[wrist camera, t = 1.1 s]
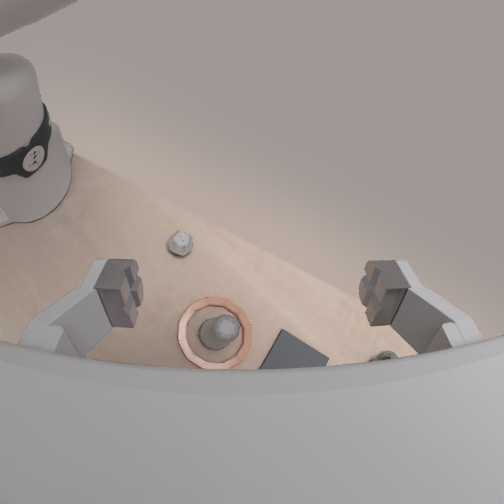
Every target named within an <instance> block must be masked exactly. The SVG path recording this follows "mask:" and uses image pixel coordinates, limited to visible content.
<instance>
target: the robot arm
mask: <svg viewBox="0 0 504 504" xmlns="http://www.w3.org/2000/svg"><path fill="white" fill-rule="evenodd" d="M77 1H78V0H0V37H2V36H4V35H6V34H8V33H11V32H13V31H15V30H18V29H20V28H22V27H25V26H27V25H30V24H32V23H35V22H38V21H39V20H41V19H43V18H45V17H47V16H49V15H51V14H53V13H55V12H57V11H59V10H61V9H63V8H65V7H67V6H69V5H71V4H73V3H76V2H77ZM73 151H74V150H73V147H72V145H71V144H70V143H68V142H65V141H64V140H63V137H62V134H61V131H60V129H59V126H58V125H57V123H53V122H51V121H50V116H49V113H48V111H47V109H46V106H45V104H44V103H43V102H42V99H41V95H40V91H39V86H38V81H37V76H36V71H35V68H34V66H33V65H32V63H31V62H30V61H29V60H27V59H26V58H24V57H22V56H20V55H17V54H11V53H6V54H5V53H4V54H0V227H1V226H5V225H7V224H9V223H12V222H31V221H34V220H37V219H39V218H42V217H43V216H45V215H47V214H48V213H49V212H51V211H52V210H53V209H54V208H55V207H56V206H57V205H58V204H59V203H60V202H61V201H62V199H63V198H64V196H65V194H66V193H67V191H68V188H69V185H70V182H71V165H70V161H71V158H72V155H73ZM138 270H139V268H138V264H137V261H135V260H130V259H96V260H95V261H94V263H93V265H92V266H91V268H90V270H89V272H88V274H87V275H86V277H85V279H84V281H83V283H82V285H81V286H80V288H75V289H74V290H72V291H71V292H69V293H68V294H67V295H65V296H64V297H62V298H61V299H59V300H58V301H57V302H55V303H54V304H52V305H51V306H50V307H48V308H47V309H45V310H44V311H43V312H41V313H40V314H38V315H37V316H36V317H34V318H33V319H32V320H30V322H29V324H28V326H27V328H26V329H25V331H24V333H23V335H22V337H21V339H20V341H19V343H18V345H16V344H12V343H8V342H4V341H0V504H504V335H501V336H498V337H494V338H490V339H487V340H483V338H482V336H481V334H480V333H479V331H478V329H477V327H476V326H475V324H474V322H473V321H472V319H471V318H470V317H469V316H467V315H466V314H464V313H463V312H462V311H460V310H459V309H457V308H456V307H454V306H453V305H451V304H450V303H449V302H447V301H446V300H444V299H443V298H441V297H440V296H438V295H437V294H435V293H434V292H432V291H431V290H429V289H428V288H426V287H422V285H421V283H420V282H419V280H418V279H417V277H416V275H415V274H414V272H413V270H412V269H411V267H410V266H409V264H408V263H407V261H405V260H404V259H402V260H386V261H385V260H383V261H382V260H378V261H368V262H367V264H366V266H365V269H364V270H365V272H366V275H365V276H364V277H363V278H362V279H361V282H360V285H359V296H360V300H361V303H362V304H363V305H364V306H365V307H367V310H366V312H365V313H366V316H367V319H368V321H369V324H370V326H383V325H391V327H392V328H393V329H394V330H395V331H396V332H397V333H398V334H399V335H400V336H401V337H402V338H403V339H404V340H405V341H406V342H407V343H408V344H409V345H410V346H411V347H412V348H413V349H414V350H415V351H416V352H417V353H418V355H412V356H406V357H400V358H393V359H386V360H379V361H371V362H363V363H354V364H345V365H334V366H322V367H307V368H289V369H256V370H224V369H191V368H173V367H159V366H147V365H136V364H127V363H118V362H110V361H102V360H95V359H88V358H84V357H85V356H86V355H87V354H88V353H89V352H90V350H91V349H92V348H93V347H94V346H95V345H96V344H97V343H98V342H99V341H100V340H101V339H102V338H103V337H104V336H105V335H106V334H107V333H108V332H109V331H110V330H111V329H112V327H127V328H134V325H135V322H136V319H137V316H138V312H137V309H136V308H137V307H138V306H140V305H141V303H142V299H143V283H142V279H141V278H140V277H139V276H138V275H137V273H138Z"/></svg>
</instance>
